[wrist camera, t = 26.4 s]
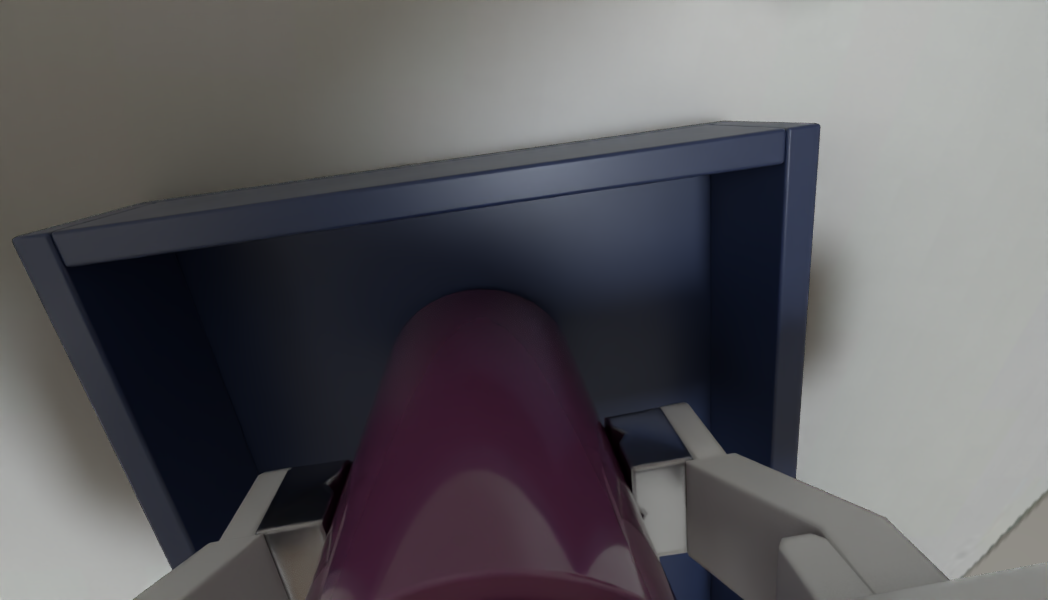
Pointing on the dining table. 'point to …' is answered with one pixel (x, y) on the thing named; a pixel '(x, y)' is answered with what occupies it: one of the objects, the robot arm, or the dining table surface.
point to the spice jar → (486, 472)
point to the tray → (424, 276)
